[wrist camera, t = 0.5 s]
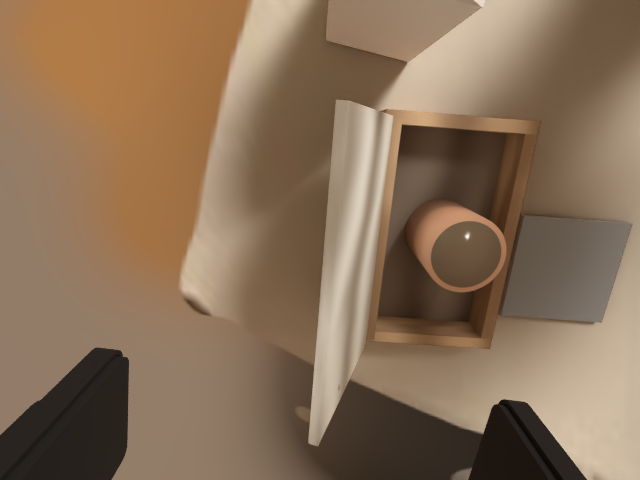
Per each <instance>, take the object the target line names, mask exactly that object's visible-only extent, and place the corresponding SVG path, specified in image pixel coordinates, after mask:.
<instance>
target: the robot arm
mask: <svg viewBox="0 0 640 480" xmlns="http://www.w3.org/2000/svg"><path fill="white" fill-rule="evenodd" d="M128 375H129V360H128V358H127V357H123V354H122V352H121V351H119V350H113V349H105V348H94V349H93V350H92V351H91V352H90V353H89V354H88V355H87V356H86V357H85V358H84V359H82V360H81V362H79V363H78V364H77V365H76V366H75V367H74V368H73V369H72V370H71V371H70V372H69V373H68V374H67V375H66V376H65V377H64V378H63V379H62V380H61V381H60V382H59V383H58V384H57V385H56V386H55V387H54V388H53V389H52V390H51V391H50V392H49V393H48V394H47V395H46V396H45V397H44V398H43V399H41V400H40V401H37V402H36V403H34V404H33V405H32V406H30V407H29V409H27V410H26V411H25V412H24V413H23V414H22V415H21V416H20V417H19V418H18V419H17V420H16V421H15V422H14V423H13V424H12V425H11V426H10V427H9V428H7V429H6V430H5V431H4V432H3V433H2V434H1V435H0V480H111V479H112V478H113V476H114V474H115V472H116V471H117V469H118V467H119V466H120V464H121V462H122V460H123V458H124V456H125V453H126V448H127V431H128V430H127V428H128V378H129V377H128ZM468 480H587V479H586V478H585V477H584V475H583V474H582V473H581V471H580V470H579V469H578V468H577V466H576V465H575V464H574V462H573V461H572V460H571V459H570V457H569V456H568V455H567V453H566V452H565V451H564V449H563V448H562V447H561V446H560V444H559V443H558V442H557V440H556V439H555V438H554V437H553V435H552V434H551V433H550V431H549V430H548V429H547V428H546V426H545V425H544V424H543V422H542V421H541V420H540V419H539V417H538V416H537V415H536V413H535V412H534V411H533V409H532V408H531V407H530V406H529V405H528V404H527V403H525V402H520V401H512V400H505V399H504V400H501V401H500V402H499V403H498V405H497V404H496V405H494V406H493V407H492V409H491V413H490V416H489V419H488V422H487V425H486V428H485V431H484V434H483V437H482V440H481V443H480V446H479V449H478V452H477V455H476V458H475V461H474V464H473V467H472V470H471V473H470V476H469V479H468Z"/></svg>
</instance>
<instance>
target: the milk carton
mask: <svg viewBox="0 0 640 480" xmlns="http://www.w3.org/2000/svg"><path fill="white" fill-rule="evenodd" d="M484 3H485V0H329V2H328V16H327V29H326V40H327V41H330V42H334V43H338V44H341V45H345V46H349V47H353V48H357V49H361V50H364V51H368V52H372V53H376V54H380V55H383V56H387V57H391V58H395V59H399V60H403V61H406V62H409V61H411V60H412V59H413V58H415V57H416V56H417V55H419V54H420V53H421V52H423V51H424V50H425V49H427V48H428V47H429V46H431V45H432V44H433V43H435V42H436V41H437V40H439V39H440V38H441V37H443V36H444V35H445V34H447V33H448V32H449V31H451V30H452V29H453V28H455V27H456V26H457V25H459V24H460V23H461V22H463V21H464V20H465V19H467V18H468V17H469V16H471V15H472V14H474V13H475V12H476V11H478V10H479V9H480V8H482V7H483V6H484Z"/></svg>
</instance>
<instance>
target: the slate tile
mask: <svg viewBox="0 0 640 480" xmlns="http://www.w3.org/2000/svg"><path fill="white" fill-rule="evenodd" d="M631 227H632V224H631V223H628V222H615V221H602V220H588V219H574V218H560V217H547V216H533V215H521V216H520V220H519V225H518V229H517V234H516V238H515V242H514V247H513V251H512V256H511V260H510V265H509V269H508V273H507V278H506V282H505V287H504V291H503V295H502V300H501V304H500V309H499V314H500V315H501V316H512V317H527V318H542V319H557V320H572V321H587V322H602V320H603V317H604V313H605V310H606V307H607V304H608V300H609V297H610V294H611V291H612V288H613V284H614V281H615V278H616V275H617V272H618V268H619V265H620V262H621V259H622V256H623V252H624V249H625V246H626V243H627V240H628V236H629V233H630V230H631Z"/></svg>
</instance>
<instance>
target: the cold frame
mask: <svg viewBox="0 0 640 480" xmlns="http://www.w3.org/2000/svg"><path fill="white" fill-rule="evenodd" d="M540 124H541V121H529V120H517V119H504V118H491V117H478V116H466V115H453V114H440V113H427V112H415V111H402V110H389V109H386V110H383V111H378V110H375V109H372V108H369V107H367V106H364V105H361V104H358V103H355V102H352V101H349V100H336V105H335V117H334V129H333V142H332V154H331V167H330V179H329V192H328V204H327V216H326V229H325V241H324V254H323V266H322V278H321V291H320V303H319V316H318V328H317V341H316V353H315V365H314V378H313V390H312V391H313V392H312V404H311V415H310V428H309V442H308V443H309V444H312V445H315V446H318V445H319V443H320V441H321V439H322V437H323V434H324V432H325V430H326V428H327V426H328V424H329V422H330V420H331V417H332V415H333V413H334V411H335V409H336V407H337V405H338V403H339V401H340V398H341V396H342V394H343V392H344V390H345V388H346V386H347V384H348V381H349V379H350V377H351V375H352V373H353V371H354V369H355V367H356V364H357V362H358V360H359V358H360V356H361V354H362V352H363V350H364V348H365V345H366V341H376V342H392V343H407V344H423V345H438V346H454V347H469V348H485V349H490V346H491V341H492V337H493V332H494V328H495V324H496V319H497V315H498V310H499V306H500V301H501V297H502V292H503V288H504V284H505V279H506V275H507V270H508V266H509V261H510V257H511V253H512V248H513V244H514V239H515V235H516V230H517V226H518V221H519V217H520V213H521V208H522V204H523V199H524V195H525V190H526V186H527V182H528V177H529V173H530V168H531V164H532V159H533V155H534V151H535V146H536V142H537V137H538V133H539V128H540ZM433 199H448V200H452V201H454V202H456V203H458V204H460V205H462V206H463V207H465V208H467V209H469V210H471V211H473V212H475V213H476V214H478V215H480V216H482V217H484V218H486V219H488V220H489V221H491V222H493V223H494V224H495V225H496V226H497V227H498V228H499V229H500V231H501V232H502V234H503V236H504V238H505V242H506V258H505V262H504V264H503V267H502V269H501V270H500V272H499V273H498V275H497V276H496V277H495V278H494V279H493V280H492V281H491V282H490V283H488V284H487V285H485V286H484V287H481V288H479V289H477V290H474V291H470V292H454V291H450V290H447V289H445V288H443V287H441V286H440V285H438V284H437V283H436V282H435V281H434V280H433V279H432V277H431V276H430V275H429V273H428V272H427V271H426V269H425V268H424V267H423V266H422V264H421V263H420V262H419V260H418V259H417V258H416V256H415V255H414V254H413V252H412V251H411V250H410V248H409V246H408V244H407V242H406V237H405V228H406V224H407V221H408V219H409V217H410V215H411V214H412V213H413V211H414V210H415V209H416V208H417V207H418V206H420V205H421V204H423V203H425V202H427V201H430V200H433Z"/></svg>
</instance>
